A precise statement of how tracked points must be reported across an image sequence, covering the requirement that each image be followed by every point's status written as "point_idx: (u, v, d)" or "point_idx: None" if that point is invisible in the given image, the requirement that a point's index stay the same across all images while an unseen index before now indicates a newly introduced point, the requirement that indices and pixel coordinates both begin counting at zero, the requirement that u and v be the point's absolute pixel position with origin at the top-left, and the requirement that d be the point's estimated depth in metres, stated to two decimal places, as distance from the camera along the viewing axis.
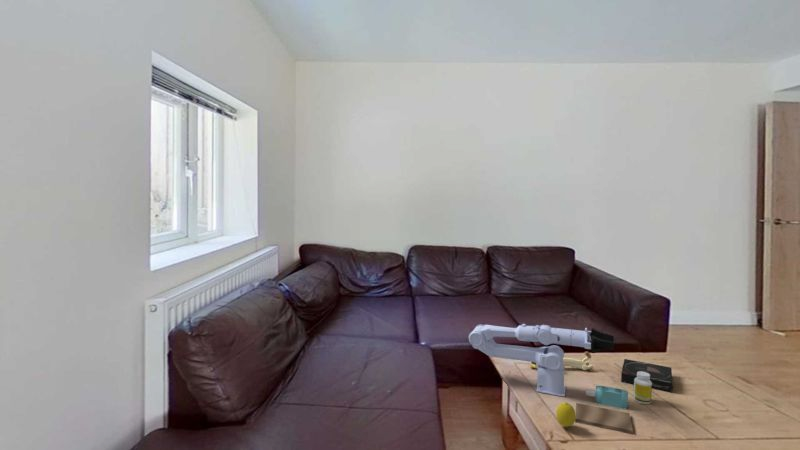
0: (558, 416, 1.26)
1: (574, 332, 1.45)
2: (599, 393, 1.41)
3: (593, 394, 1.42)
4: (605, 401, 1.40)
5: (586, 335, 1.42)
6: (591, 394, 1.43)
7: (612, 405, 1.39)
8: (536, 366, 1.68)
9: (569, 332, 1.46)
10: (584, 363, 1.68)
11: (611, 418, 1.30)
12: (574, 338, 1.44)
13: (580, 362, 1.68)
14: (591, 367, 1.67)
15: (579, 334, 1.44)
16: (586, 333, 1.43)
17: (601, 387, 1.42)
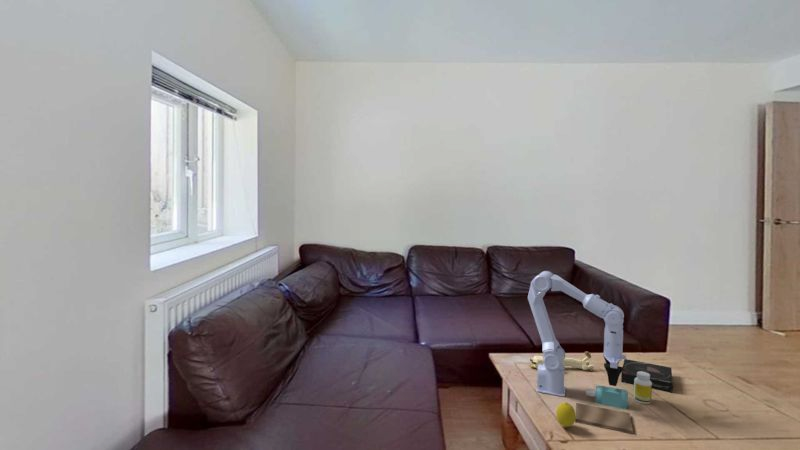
0: (558, 416, 1.26)
1: (621, 347, 1.37)
2: (599, 393, 1.41)
3: (593, 394, 1.42)
4: (605, 401, 1.40)
5: (620, 359, 1.36)
6: (591, 394, 1.43)
7: (612, 405, 1.39)
8: (536, 366, 1.68)
9: (620, 342, 1.37)
10: (584, 363, 1.68)
11: (611, 418, 1.30)
12: (615, 348, 1.37)
13: (580, 362, 1.68)
14: (591, 367, 1.67)
15: (620, 352, 1.37)
16: (621, 359, 1.37)
17: (601, 387, 1.42)
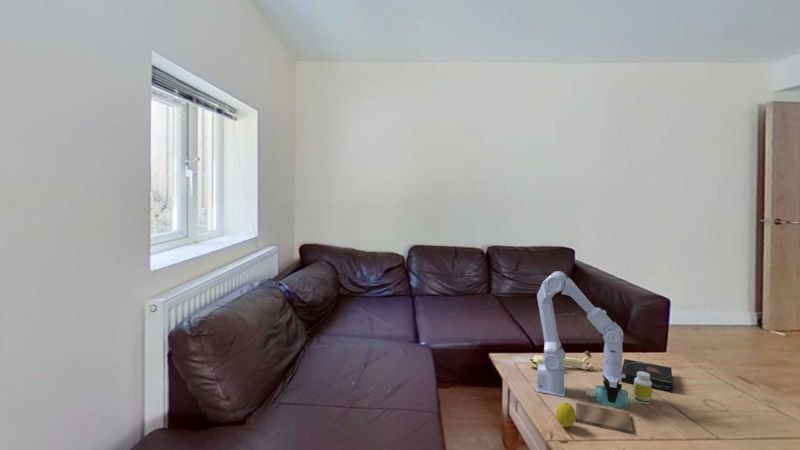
0: (558, 416, 1.26)
1: (620, 366, 1.38)
2: (599, 393, 1.41)
3: (593, 394, 1.42)
4: (605, 401, 1.40)
5: (620, 378, 1.37)
6: (591, 394, 1.43)
7: (612, 405, 1.39)
8: (537, 366, 1.68)
9: (620, 361, 1.37)
10: (584, 363, 1.68)
11: (611, 418, 1.30)
12: (615, 367, 1.37)
13: (580, 362, 1.68)
14: (591, 367, 1.67)
15: (619, 371, 1.37)
16: (621, 377, 1.38)
17: (601, 387, 1.42)
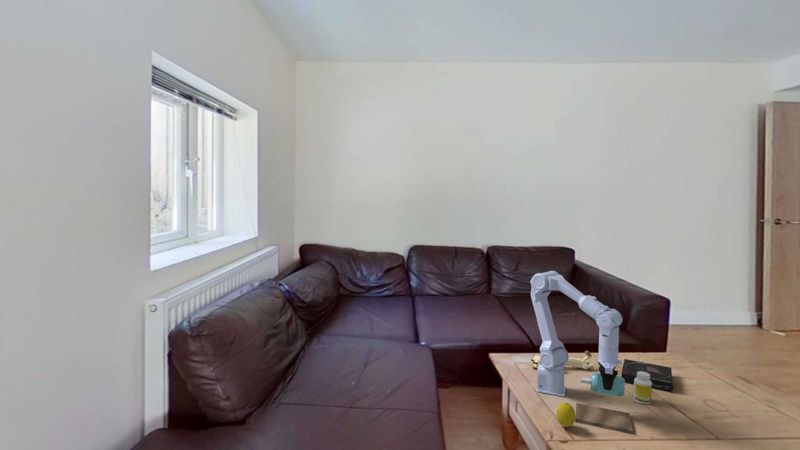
0: (558, 416, 1.26)
1: (617, 352, 1.32)
2: (595, 380, 1.34)
3: (588, 381, 1.36)
4: (601, 389, 1.34)
5: (616, 365, 1.31)
6: (586, 382, 1.36)
7: (608, 393, 1.33)
8: (537, 366, 1.68)
9: (613, 347, 1.31)
10: (585, 362, 1.69)
11: (611, 418, 1.30)
12: (611, 352, 1.31)
13: (581, 361, 1.69)
14: (592, 366, 1.68)
15: (615, 357, 1.31)
16: (617, 364, 1.31)
17: (596, 374, 1.36)
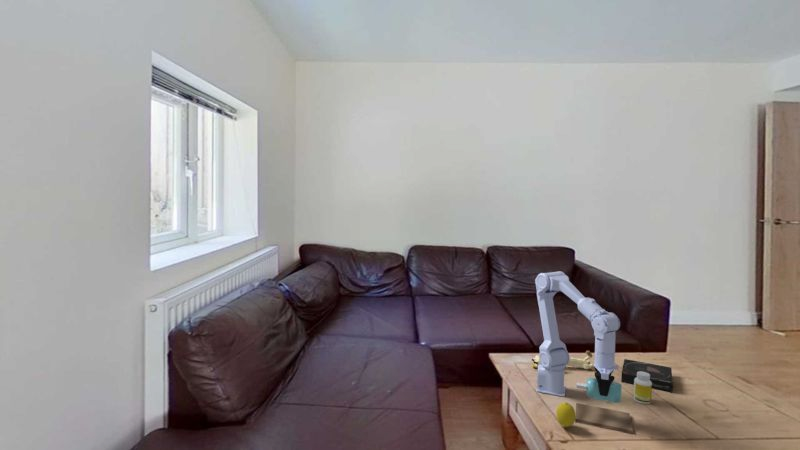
0: (558, 416, 1.26)
1: (613, 356, 1.28)
2: (590, 385, 1.31)
3: (584, 387, 1.32)
4: (597, 394, 1.30)
5: (612, 370, 1.27)
6: (582, 387, 1.33)
7: (604, 399, 1.29)
8: None
9: (607, 352, 1.27)
10: (585, 362, 1.69)
11: (611, 418, 1.30)
12: (607, 357, 1.27)
13: (581, 361, 1.69)
14: (592, 366, 1.68)
15: (611, 362, 1.27)
16: (613, 369, 1.28)
17: (593, 380, 1.32)
